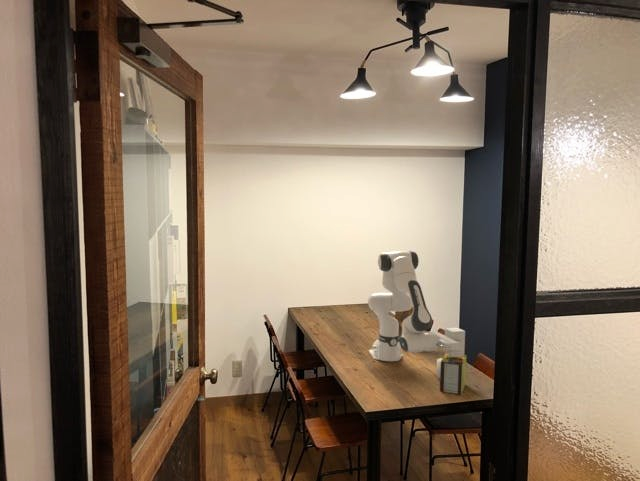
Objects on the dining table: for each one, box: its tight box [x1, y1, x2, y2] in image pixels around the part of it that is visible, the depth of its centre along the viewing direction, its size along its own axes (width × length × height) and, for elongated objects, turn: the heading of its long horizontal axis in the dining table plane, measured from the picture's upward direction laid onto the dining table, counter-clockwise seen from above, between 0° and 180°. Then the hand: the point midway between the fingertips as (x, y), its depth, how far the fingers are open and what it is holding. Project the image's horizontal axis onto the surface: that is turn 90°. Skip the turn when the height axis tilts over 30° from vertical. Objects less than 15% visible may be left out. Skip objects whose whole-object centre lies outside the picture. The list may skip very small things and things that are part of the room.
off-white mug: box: [436, 357, 443, 380], centre depth 259 cm, size 10×8×9 cm
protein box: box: [439, 353, 467, 396], centre depth 243 cm, size 10×15×16 cm
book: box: [394, 305, 413, 342], centre depth 314 cm, size 16×6×25 cm, turn 55°
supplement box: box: [443, 327, 466, 357], centre depth 241 cm, size 7×7×13 cm
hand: (456, 339), depth 242 cm, fingers closed on supplement box, 7 cm apart
